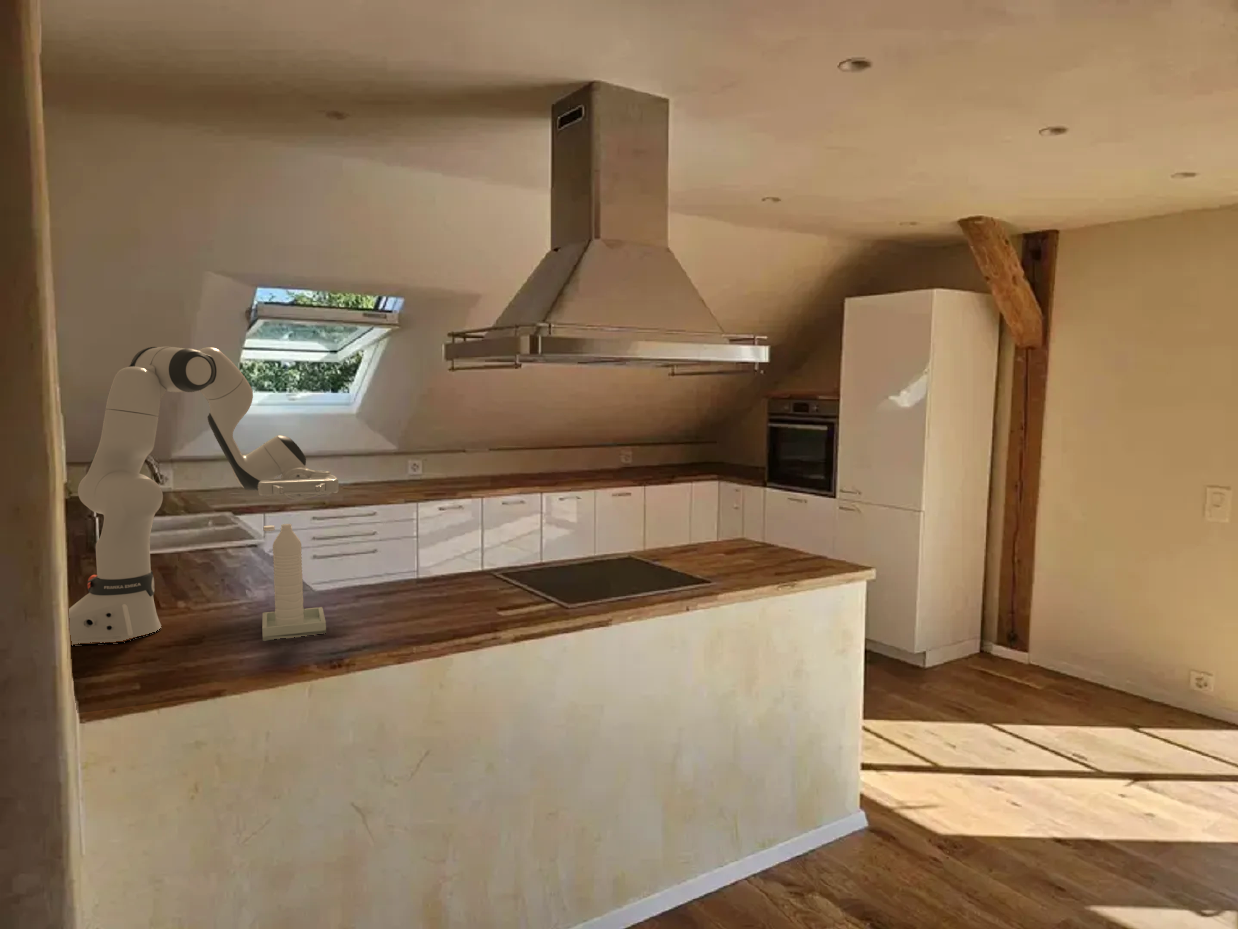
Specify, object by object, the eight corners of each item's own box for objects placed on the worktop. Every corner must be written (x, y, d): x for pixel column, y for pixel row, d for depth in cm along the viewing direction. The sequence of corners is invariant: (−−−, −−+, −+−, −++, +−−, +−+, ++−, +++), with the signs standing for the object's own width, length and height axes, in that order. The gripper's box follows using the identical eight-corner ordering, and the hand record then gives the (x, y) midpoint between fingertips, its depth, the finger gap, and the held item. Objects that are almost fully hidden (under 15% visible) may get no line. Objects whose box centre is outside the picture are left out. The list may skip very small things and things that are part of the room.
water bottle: (296, 619, 210) (293, 520, 207) (309, 625, 205) (305, 524, 203) (261, 627, 203) (257, 525, 201) (273, 632, 199) (269, 528, 196)
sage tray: (262, 641, 196) (262, 628, 196) (263, 624, 209) (262, 612, 209) (326, 634, 201) (325, 622, 201) (322, 618, 214) (322, 607, 214)
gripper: (256, 473, 229) (256, 479, 216) (336, 471, 237) (339, 476, 224) (257, 496, 229) (257, 504, 217) (336, 493, 237) (340, 500, 224)
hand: (299, 490), depth 220 cm, fingers open, 8 cm apart
